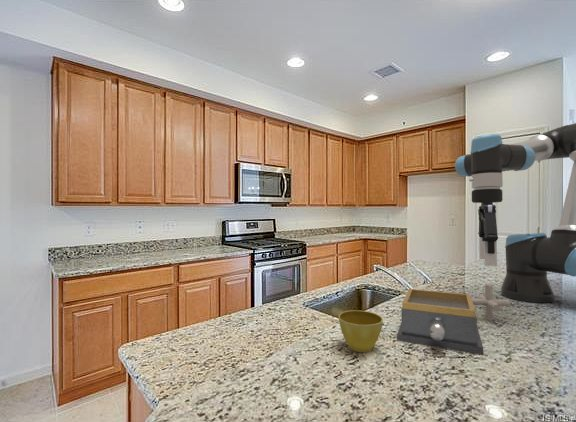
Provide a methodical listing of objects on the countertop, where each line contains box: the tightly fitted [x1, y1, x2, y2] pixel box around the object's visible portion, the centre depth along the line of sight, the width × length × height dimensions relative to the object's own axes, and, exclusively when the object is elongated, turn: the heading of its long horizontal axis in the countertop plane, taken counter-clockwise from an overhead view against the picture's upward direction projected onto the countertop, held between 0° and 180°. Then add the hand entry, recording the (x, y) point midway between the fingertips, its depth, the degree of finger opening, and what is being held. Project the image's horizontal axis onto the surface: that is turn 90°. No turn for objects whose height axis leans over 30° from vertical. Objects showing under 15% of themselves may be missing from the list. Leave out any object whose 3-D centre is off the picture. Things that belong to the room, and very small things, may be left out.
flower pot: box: [338, 309, 384, 353], centre depth 71 cm, size 10×10×7 cm
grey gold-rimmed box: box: [396, 288, 484, 355], centre depth 77 cm, size 18×22×9 cm
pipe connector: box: [471, 283, 511, 322], centre depth 88 cm, size 10×10×10 cm
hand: (487, 262), depth 88 cm, fingers open, 13 cm apart
